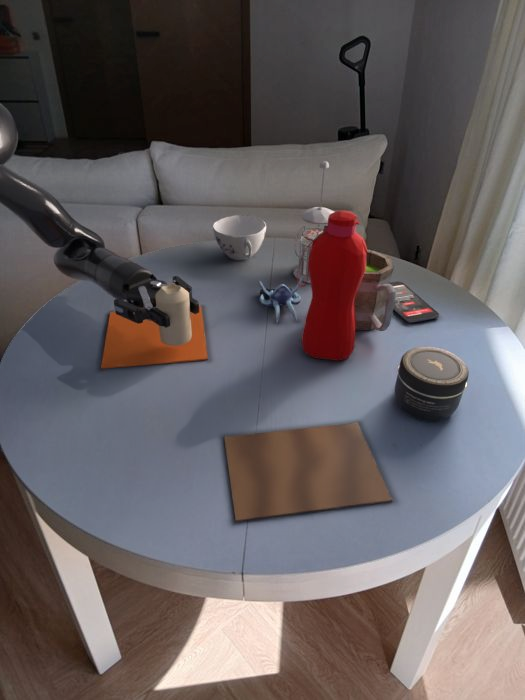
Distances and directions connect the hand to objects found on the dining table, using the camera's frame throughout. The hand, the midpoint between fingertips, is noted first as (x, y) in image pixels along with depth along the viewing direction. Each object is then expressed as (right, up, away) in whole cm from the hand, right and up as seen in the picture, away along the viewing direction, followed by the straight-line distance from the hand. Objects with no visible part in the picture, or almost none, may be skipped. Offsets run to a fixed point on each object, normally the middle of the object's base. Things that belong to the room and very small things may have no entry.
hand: (183, 315), depth 82 cm
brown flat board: (+19, -22, -15) cm, 33 cm away
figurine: (+17, +3, +19) cm, 26 cm away
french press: (+25, +11, +31) cm, 41 cm away
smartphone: (+43, +4, +21) cm, 48 cm away
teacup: (+8, +16, +37) cm, 42 cm away
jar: (+39, -14, -4) cm, 42 cm away
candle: (-2, -4, +5) cm, 6 cm away
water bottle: (+24, -5, +8) cm, 26 cm away
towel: (-7, -3, +10) cm, 12 cm away
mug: (+33, -1, +15) cm, 36 cm away
